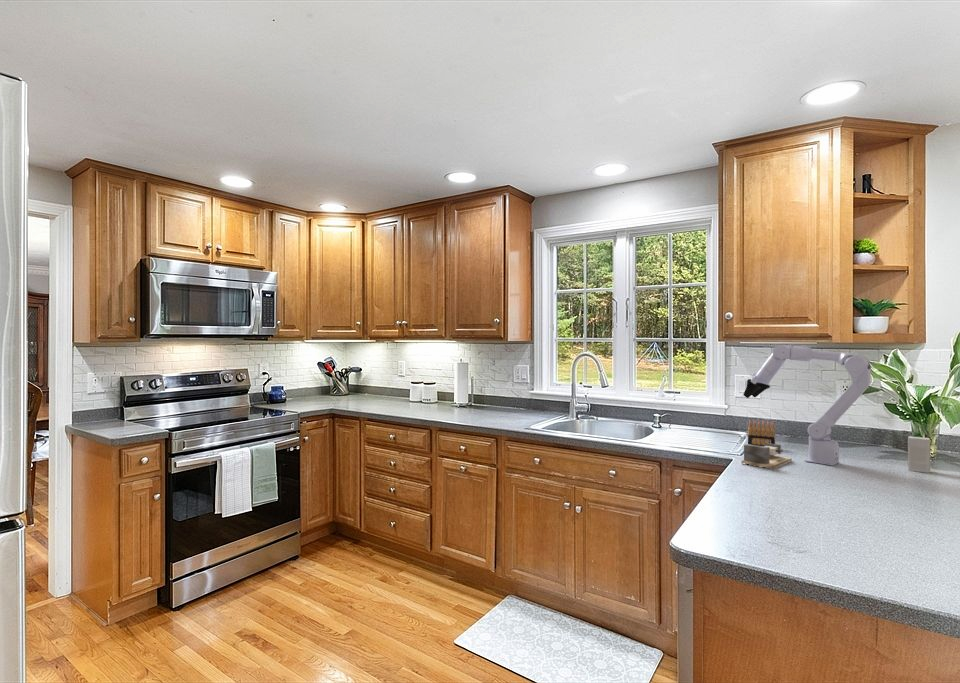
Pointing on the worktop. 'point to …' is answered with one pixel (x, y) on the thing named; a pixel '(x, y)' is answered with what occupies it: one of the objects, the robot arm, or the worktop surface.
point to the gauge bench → (771, 462)
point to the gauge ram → (773, 448)
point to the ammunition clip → (761, 433)
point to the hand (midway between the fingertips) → (749, 396)
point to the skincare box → (919, 454)
